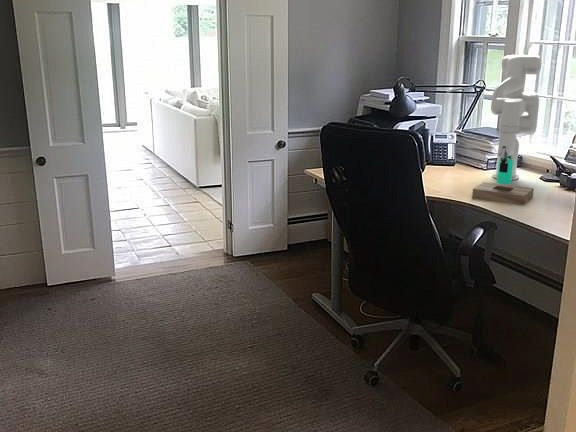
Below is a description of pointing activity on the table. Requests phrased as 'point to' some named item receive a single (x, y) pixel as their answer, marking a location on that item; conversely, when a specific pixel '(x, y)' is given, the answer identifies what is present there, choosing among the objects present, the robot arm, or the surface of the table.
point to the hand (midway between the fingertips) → (505, 170)
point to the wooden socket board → (503, 193)
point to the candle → (505, 177)
